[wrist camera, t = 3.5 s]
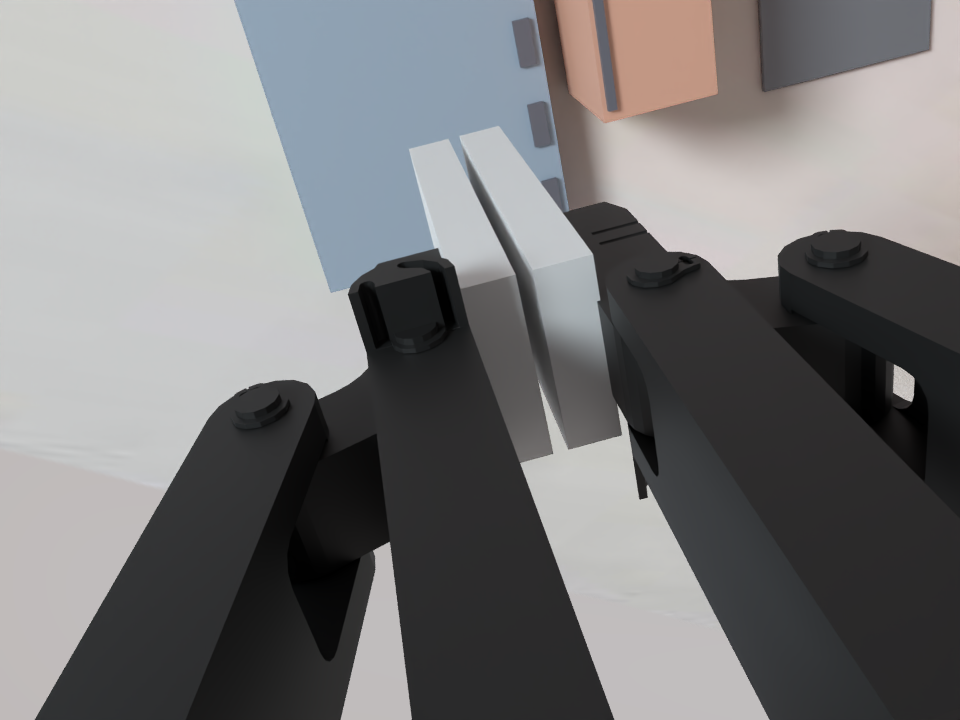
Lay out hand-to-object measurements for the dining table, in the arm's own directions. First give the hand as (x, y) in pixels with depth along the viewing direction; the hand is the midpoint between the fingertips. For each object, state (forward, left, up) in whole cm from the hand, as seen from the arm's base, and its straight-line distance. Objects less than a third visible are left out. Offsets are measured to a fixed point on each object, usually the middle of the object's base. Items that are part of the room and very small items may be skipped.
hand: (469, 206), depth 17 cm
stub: (+8, 0, -18) cm, 20 cm away
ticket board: (0, -2, -18) cm, 19 cm away
